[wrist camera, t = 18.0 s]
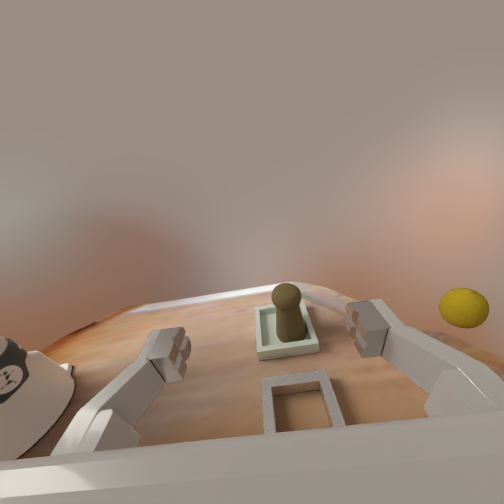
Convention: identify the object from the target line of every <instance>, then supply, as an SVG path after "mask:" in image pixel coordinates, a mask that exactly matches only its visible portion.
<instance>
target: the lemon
mask: <svg viewBox="0 0 504 504" xmlns="http://www.w3.org/2000/svg"><path fill="white" fill-rule="evenodd" d="M439 310H440V314H441V316H442V317H443V318H444V319H445V320H446V321H447V322H449V323H450V324H452V325H454V326H457V327H461V328H474V327H477V326H479V325H481V324H482V323H483V322H484V321H485V320H486V319H487V317H488V313H489V304H488V302H487V300H486V299H485V297H484V296H482V295H481V294H480V293H478V292H476V291H474V290H471V289H467V288H457V289H452V290H450V291H448V292H447V293H446V294H445V295H444V296H443V297H442V299H441V301H440V304H439Z"/></svg>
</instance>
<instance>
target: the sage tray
mask: <svg viewBox="0 0 504 504" xmlns="http://www.w3.org/2000/svg"><path fill="white" fill-rule="evenodd" d="M300 309H301V312H302V316H303V319H304V323H305V326H306V330H307V335H306V337H305V339H304V340H301V341H295V342H288V343H283V342H281V341H280V340H279V339H278V337H277V334H276V307H275V305H274V304H272V305H265V306H259V307H255V324H256V344H257V354H258V358H259V361H260V360H267V359H274V358H281V357H288V356H295V355H302V354H309V353H316V352H319V342H318V339H317V336H316V334H315V331H314V328H313V326H312V323H311V320H310V317H309V315H308V312H307V309H306V307H305V304H304V301H303V299H302V300H301V302H300Z"/></svg>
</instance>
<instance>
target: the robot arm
mask: <svg viewBox="0 0 504 504" xmlns="http://www.w3.org/2000/svg"><path fill="white" fill-rule="evenodd" d="M345 310H346V311H347V314H346V315H345V320H344V321H345V326H346V329H347V331H348V333H349V335H350V336H351V337H352V338H354V339H355V346H356V348H357V350H358V352H359V354H360V355H361V357H362V358H366V357H376V356H382V358H384V359H385V360H386V361H387V362H389V363H390V364H391V365H392V366H394V367H395V368H396V369H397V370H399V371H400V372H401V373H403V374H404V375H405V376H406V377H408V378H409V379H410V380H411V381H413V382H414V383H415V384H417V385H418V386H419V387H420V388H422V389H423V390H424V391H425V392H427V393H428V394H429V396H428V398H427V400H426V402H425V404H424V407H423V408H424V410H425V411H426V413H427V414H428V416H429V417H425V418H415V419H406V420H396V421H386V422H376V423H366V424H357V425H347V426H337V427H327V428H318V429H308V430H298V431H288V432H279V433H269V434H259V435H249V436H240V437H230V438H220V439H210V440H201V441H191V442H181V443H172V444H162V445H152V446H142V447H138V445H139V442H140V439H141V436H140V434H139V433H138V432H137V431H136V430H134V429H133V427H134V426H135V424H136V423H137V422H138V420H139V419H140V418H141V416H142V415H143V414H144V412H145V411H146V410H147V408H148V407H149V406H150V404H151V403H152V402H153V400H154V399H155V398H156V396H157V395H158V394H159V392H160V391H161V390H162V388H163V387H164V386H165V384H166V382H173V381H179V380H183V378H184V374H185V371H186V367H187V365H186V362H185V361H186V360H187V359H188V358H189V356H190V352H191V342H190V339H189V337H187V336H185V332H186V331H185V330H184V328H183V327H178V328H169V329H161V330H153V331H152V332H151V333H150V334H149V336H148V338H147V340H146V342H145V344H144V346H143V348H142V350H141V352H140V354H139V355H138V357H137V359H136V361H135V362H132V363H131V364H130V365H129V366H128V367H126V368H125V369H124V370H123V371H122V372H121V373H120V374H119V375H118V376H117V377H115V378H114V379H113V380H112V381H111V382H110V383H109V384H108V385H107V386H105V387H104V388H103V389H102V390H101V391H100V392H99V393H98V394H97V395H96V396H94V397H93V398H92V399H91V400H90V401H89V402H88V403H87V404H86V405H84V406H83V407H82V408H81V409H80V410H79V411H78V412H77V413H76V415H75V417H74V418H73V420H72V421H71V423H70V424H69V426H68V428H67V429H66V431H65V432H64V434H63V435H62V437H61V439H60V440H59V442H58V443H57V445H56V446H55V448H54V449H53V451H52V453H51V454H50V456H45V457H35V458H26V459H17V458H18V457H19V456H21V455H22V454H23V453H24V452H26V451H27V450H28V449H29V448H30V447H31V446H33V445H34V444H35V443H36V442H37V441H38V440H39V439H40V438H41V437H42V436H43V435H44V434H45V433H46V432H47V431H48V430H49V429H50V428H51V426H52V425H53V424H54V423H55V422H56V420H57V419H58V418H59V417H60V415H61V414H62V412H63V411H64V409H65V408H66V406H67V405H68V403H69V401H70V399H71V397H72V394H73V391H74V386H75V384H74V380H73V378H72V377H71V370H72V366H71V365H70V364H68V363H65V364H62V365H58V364H57V363H55V362H54V361H53V360H51V359H50V358H48V357H47V356H45V355H44V354H42V353H41V352H39V351H31V352H26V351H25V350H24V349H23V348H22V347H21V346H20V345H19V344H18V343H16V342H14V341H12V340H11V339H8V338H3V337H1V336H0V504H504V381H503V380H502V379H501V378H500V377H499V376H498V375H496V374H495V373H494V372H493V371H492V370H491V369H490V368H489V367H488V366H487V365H485V364H483V363H481V362H479V361H477V360H475V359H473V358H472V357H470V356H468V355H466V354H464V353H462V352H460V351H458V350H456V349H454V348H452V347H450V346H448V345H446V344H444V343H442V342H440V341H438V340H436V339H434V338H432V337H430V336H428V335H426V334H424V333H422V332H420V331H418V330H416V329H414V328H412V327H410V326H405V325H404V324H403V323H402V322H401V321H400V320H399V318H398V317H397V316H396V315H395V314H394V313H393V312H392V311H391V310H390V309H389V307H388V306H387V305H386V304H385V303H384V302H383V301H382V300H381V299H374V300H368V301H360V302H353V303H347V304H346V307H345ZM15 459H16V460H15Z"/></svg>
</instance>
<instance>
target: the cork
mask: <svg viewBox="0 0 504 504" xmlns="http://www.w3.org/2000/svg"><path fill="white" fill-rule="evenodd" d="M272 301H273V304H274V305H275V307H276V334H277V337H278V339H279V340H280V341H281V342H283V343H288V342H295V341H301V340H304V339H305V337H306V335H307V330H306V326H305V323H304V319H303V316H302V312H301V309H300V302H301V292H300V290H299V289H298V288H297V287H296V286H295V285H293V284H290V283H283V284H280V285H278V286H276V287H275V288H274V290H273V292H272Z"/></svg>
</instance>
